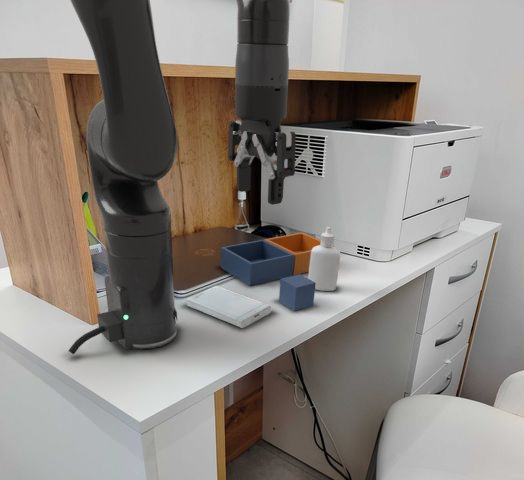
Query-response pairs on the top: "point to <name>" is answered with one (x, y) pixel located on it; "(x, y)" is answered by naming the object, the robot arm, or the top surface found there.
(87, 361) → the top surface
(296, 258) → the amber bin
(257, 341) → the top surface
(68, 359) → the top surface
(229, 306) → the hard drive
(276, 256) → the blue bin
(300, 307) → the blue block
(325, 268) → the eye dropper bottle
